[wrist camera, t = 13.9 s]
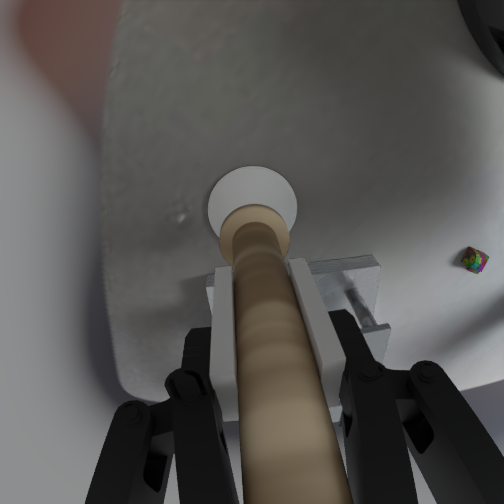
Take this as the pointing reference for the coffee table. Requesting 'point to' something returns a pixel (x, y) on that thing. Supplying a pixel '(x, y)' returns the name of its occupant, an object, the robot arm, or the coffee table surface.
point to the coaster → (251, 194)
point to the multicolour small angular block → (474, 260)
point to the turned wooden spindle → (277, 373)
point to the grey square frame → (346, 299)
